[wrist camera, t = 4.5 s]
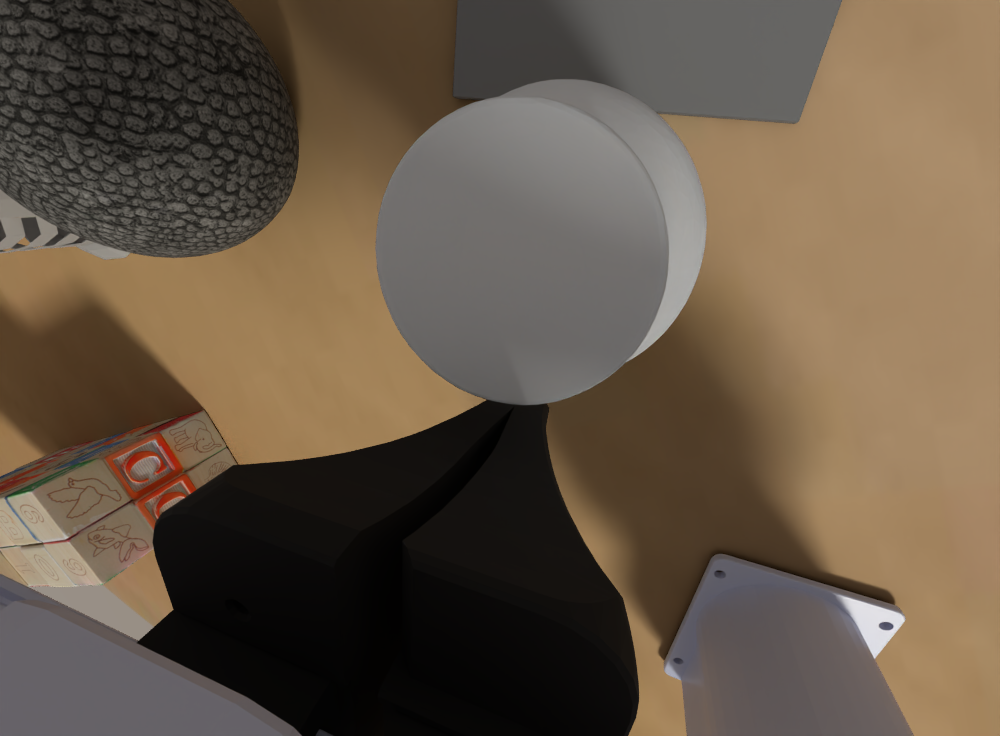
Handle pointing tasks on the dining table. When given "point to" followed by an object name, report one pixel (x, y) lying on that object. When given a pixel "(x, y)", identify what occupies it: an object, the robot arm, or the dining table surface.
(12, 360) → the dining table surface
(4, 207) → the french press
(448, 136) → the pill bottle
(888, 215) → the dining table surface
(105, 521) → the stack of blocks
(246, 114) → the decorative ball
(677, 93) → the mat
